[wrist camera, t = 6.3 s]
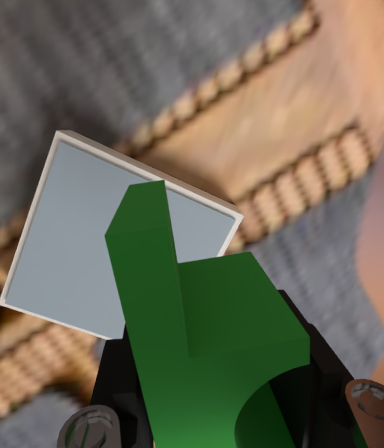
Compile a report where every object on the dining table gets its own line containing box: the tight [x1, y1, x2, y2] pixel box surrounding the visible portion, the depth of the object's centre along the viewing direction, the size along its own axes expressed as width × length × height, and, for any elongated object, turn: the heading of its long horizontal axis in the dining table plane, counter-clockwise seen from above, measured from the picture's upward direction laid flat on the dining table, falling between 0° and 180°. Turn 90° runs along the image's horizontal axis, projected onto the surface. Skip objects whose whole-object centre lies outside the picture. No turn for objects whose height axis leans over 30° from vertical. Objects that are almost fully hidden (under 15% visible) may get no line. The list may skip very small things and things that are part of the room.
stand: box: [0, 130, 244, 340], centre depth 24 cm, size 14×14×3 cm
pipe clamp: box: [104, 180, 310, 448], centre depth 9 cm, size 11×4×5 cm, turn 7°
